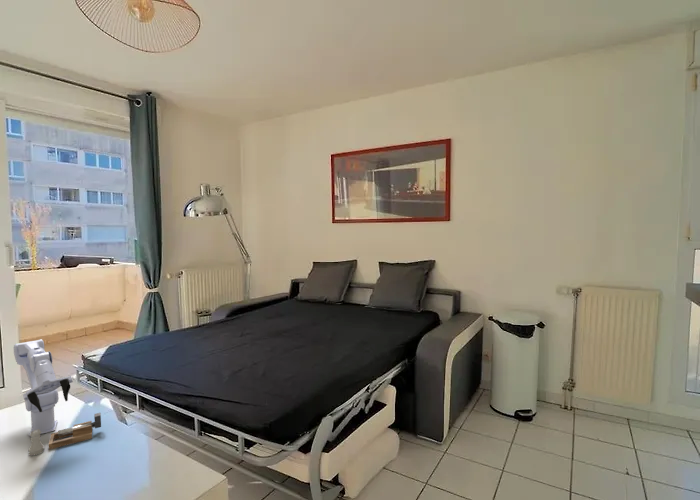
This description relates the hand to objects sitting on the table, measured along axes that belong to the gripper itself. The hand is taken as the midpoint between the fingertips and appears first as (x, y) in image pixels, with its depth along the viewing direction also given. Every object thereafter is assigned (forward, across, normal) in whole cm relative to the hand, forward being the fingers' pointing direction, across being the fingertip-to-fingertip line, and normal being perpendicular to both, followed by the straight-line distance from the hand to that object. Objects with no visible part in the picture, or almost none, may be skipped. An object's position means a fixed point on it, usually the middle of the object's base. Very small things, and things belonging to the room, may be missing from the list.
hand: (53, 404), depth 136 cm
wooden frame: (+6, +1, +17) cm, 18 cm away
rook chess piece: (+7, -9, +13) cm, 18 cm away
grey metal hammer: (+5, +4, +15) cm, 17 cm away
